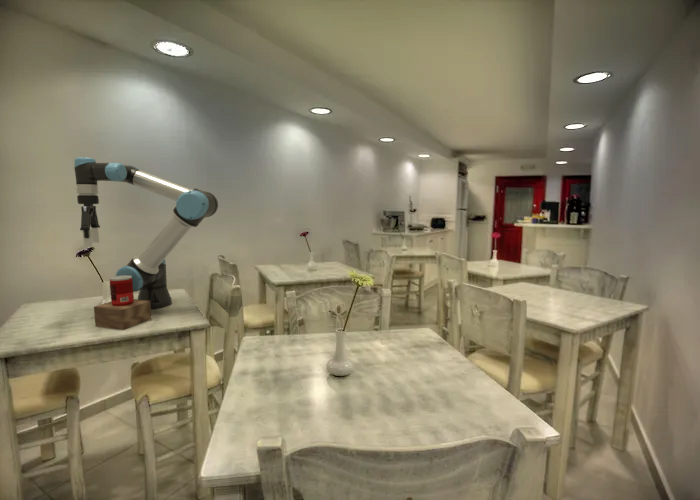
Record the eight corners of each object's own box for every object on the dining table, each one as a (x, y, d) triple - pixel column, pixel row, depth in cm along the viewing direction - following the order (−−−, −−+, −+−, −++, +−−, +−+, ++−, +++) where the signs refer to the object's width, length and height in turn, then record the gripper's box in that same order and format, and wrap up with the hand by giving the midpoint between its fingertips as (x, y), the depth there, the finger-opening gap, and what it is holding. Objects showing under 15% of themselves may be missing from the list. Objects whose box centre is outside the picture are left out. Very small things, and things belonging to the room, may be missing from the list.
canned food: (138, 301, 158) (136, 275, 157) (124, 306, 150) (122, 279, 149) (121, 300, 159) (119, 275, 158) (107, 306, 151) (104, 279, 150)
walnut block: (125, 316, 164) (124, 298, 163) (151, 319, 160) (150, 300, 159) (95, 326, 151) (93, 306, 150) (122, 330, 147) (121, 310, 146)
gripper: (84, 194, 172) (88, 241, 175) (68, 194, 149) (73, 247, 152) (104, 195, 175) (107, 240, 178) (91, 194, 152) (95, 247, 155)
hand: (91, 244), depth 165 cm, fingers open, 13 cm apart
